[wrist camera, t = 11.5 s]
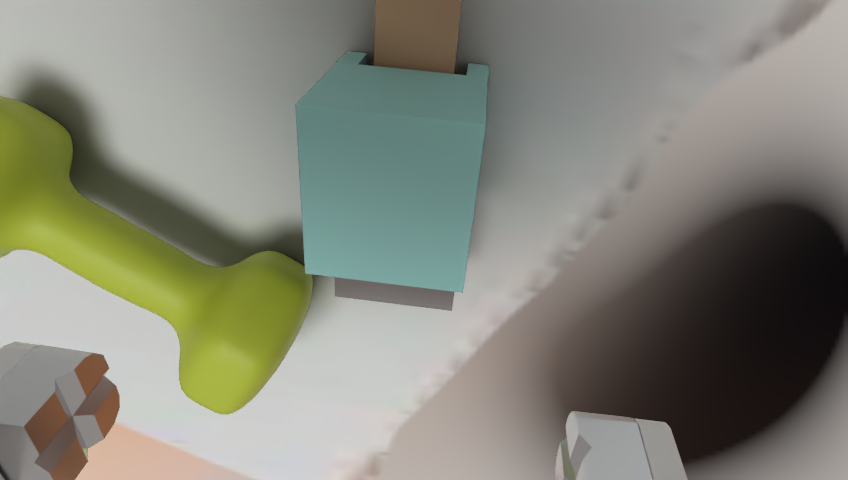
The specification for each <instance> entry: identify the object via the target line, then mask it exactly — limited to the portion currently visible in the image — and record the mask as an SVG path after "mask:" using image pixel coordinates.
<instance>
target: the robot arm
mask: <svg viewBox="0 0 848 480" xmlns="http://www.w3.org/2000/svg"><path fill="white" fill-rule="evenodd" d="M108 369H109V367H108V364H107V362H106V360H105V358H104V356H103V355H101V354H96V353H90V352H84V351H77V350H70V349H64V348H57V347H51V346H44V345H36V344H29V343H21V342H13V343H11V344H8V345H6V346H3V347H2V348H1V349H0V480H75V479H76V477H77V476H78V474H79V473H80V472H81V470H82V469H83V467H84V466H85V465H86V463H87V462H88V448H90V447H91V446H93V445H95V444H96V443H98V442H99V441H101V440H103V439H104V438H105V437H106V435H107V434H108V432H109V431H110V429H111V428H112V426H113V425H114V423H115V420H116V417H117V414H118V411H119V408H120V403H119V393H118V390H117V387H116V385H114V384H113V383H112V382H111V381H110V380H109V379H107V378H106V377H105V374H106V372H107V371H108ZM566 432H567V439H565V440H564V441H562V442H561V443H560V446H559V450H558V454H557V461H556V470H555V477H556V480H688V479H687V477H686V473H685V470H684V468H683V465H682V462H681V459H680V456H679V453H678V450H677V447H676V444H675V441H674V438H673V435H672V432H671V429H670V427H669V426H668V425H667V424H666V423H665V422H658V421H648V420H640V419H632V418H629V417H620V416H611V415H602V414H593V413H584V412H575V411H572V412H571V414H570V415H569V417H568V420H567V423H566Z"/></svg>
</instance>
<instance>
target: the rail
mask: <svg viewBox="0 0 848 480" xmlns="http://www.w3.org/2000/svg"><path fill="white" fill-rule="evenodd" d="M461 5H462V0H375V27H374V66H380V67H390V68H400V69H409V70H419V71H429V72H439V73H449V74H455V65H456V55H457V45H458V35H459V25H460V15H461ZM335 296H337V297H346V298H354V299H362V300H370V301H378V302H386V303H394V304H402V305H410V306H418V307H426V308H434V309H442V310H450V311H452V305H453V297H454V292H453V291H444V290H436V289H428V288H420V287H412V286H403V285H395V284H387V283H379V282H371V281H363V280H354V279H346V278H338V277H335Z"/></svg>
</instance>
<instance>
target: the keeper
mask: <svg viewBox="0 0 848 480" xmlns="http://www.w3.org/2000/svg"><path fill="white" fill-rule="evenodd" d="M488 79H489V65H482V64H472V63H468V69H467V75H459V74H449V73H439V72H429V71H419V70H409V69H400V68H390V67H380V66H370V65H367V53H361V52H351V51H347V52H346V53H345V54H344V55H343V56H342V57H341V58H340V59H339V60H338V61H337V62H336V64H335V65H334V66H333V67H332V68H331V69H330V70H329V71H328V72H327V73H326V74H325V75H324V76H323V77H322V78H321V79H320V80H319V81H318V82H317V83H316V84H315V85H314V86H313V87H312V88H311V89H310V90H309V91H308V92H307V93H306V94H305V95H304V96H303V97H302V98H301V99H300V100H299V101H298V102H297V103H296V122H297V139H298V157H299V174H300V192H301V210H302V227H303V245H304V262H305V274H313V275H322V276H330V277H338V278H346V279H354V280H363V281H371V282H379V283H387V284H395V285H403V286H412V287H420V288H428V289H436V290H444V291H453V292H461V293H463V288H464V281H465V274H466V266H467V259H468V252H469V245H470V237H471V230H472V223H473V216H474V208H475V201H476V194H477V186H478V179H479V172H480V165H481V157H482V150H483V143H484V136H485V128H486V107H487V86H488Z"/></svg>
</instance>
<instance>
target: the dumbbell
mask: <svg viewBox="0 0 848 480" xmlns="http://www.w3.org/2000/svg"><path fill="white" fill-rule="evenodd" d="M72 159H73V144H72V140H71V136H70V134H69V133H68V132H67V130H66V129H65V128H64V127H63V126H62V125H61V124H60V123H58V122H57V121H55V120H54V119H52V118H51V117H49V116H47V115H46V114H44V113H42V112H41V111H39V110H37V109H35V108H34V107H32V106H30V105H27V104H25V103H23V102H20V101H17V100H13V99H10V98H5V97H1V96H0V258H1V257H3V256H5V255H7V254H9V253H10V252H11V251H13V250H30V251H35V252H38V253H40V254H43V255H45V256H47V257H48V258H50V259H52V260H54V261H56V262H57V263H59V264H61V265H62V266H64V267H66V268H67V269H69V270H71V271H73V272H74V273H76V274H78V275H80V276H81V277H83V278H85V279H87V280H88V281H90V282H92V283H93V284H95V285H97V286H99V287H101V288H102V289H104V290H106V291H108V292H110V293H112V294H114V295H117V296H119V297H121V298H123V299H125V300H127V301H129V302H131V303H133V304H135V305H137V306H140V307H142V308H144V309H146V310H148V311H150V312H153V313H155V314H157V315H159V316H161V317H162V318H164V319H165V320H167V321H168V322H169V323H170V324H171V325H172V326H173V328H174V329H175V331H176V332H177V335H178V338H179V342H180V360H179V380H180V385H181V389H182V390H183V392H184V393H185V394H186V396H188V397H189V398H190V399H192V400H193V401H194V402H196V403H198V404H200V405H202V406H204V407H206V408H208V409H210V410H212V411H214V412H216V413H219V414H230V413H233V412H236V411H237V410H239V409H241V408H242V407H243V406H245V405H246V404H247V403H248V402H250V401H251V400H252V399H253V398H254V397H255V396H256V395H257V394H258V392H259V391H260V390H261V389H262V388H263V386H264V385H265V384H266V383H267V381H268V380H269V379H270V378H271V376H272V375H273V374H274V372H275V371H276V370H277V368H278V367H279V365H280V364H281V362H282V361H283V359H284V357H285V356H286V354H287V352H288V351H289V349H290V347H291V345H292V344H293V342H294V340H295V338H296V336H297V334H298V332H299V330H300V328H301V326H302V324H303V321H304V319H305V317H306V314H307V311H308V309H309V305H310V302H311V297H312V288H313V281H312V276H311V274H305V267H304V266H303V265H302V264H300V263H298V262H297V261H295V260H293V259H291V258H290V257H288V256H286V255H284V254H281V253H279V252H275V251H263V252H259V253H256V254H254V255H252V256H250V257H248V258H246V259H244V260H243V261H241V262H239V263H237V264H234V265H231V266H226V267H213V266H209V265H206V264H203V263H201V262H199V261H197V260H195V259H193V258H192V257H190V256H189V255H187V254H185V253H184V252H182V251H180V250H179V249H177V248H175V247H173V246H172V245H170V244H168V243H166V242H164V241H163V240H161V239H159V238H157V237H155V236H154V235H152V234H150V233H148V232H147V231H145V230H143V229H141V228H139V227H138V226H136V225H134V224H132V223H130V222H129V221H127V220H125V219H123V218H122V217H120V216H118V215H116V214H115V213H113V212H111V211H109V210H107V209H105V208H103V207H101V206H99V205H97V204H95V203H93V202H92V201H90V200H88V199H86V198H85V197H84V196H82V195H81V194H80V193H79V192H78V191H77V190H76V189H75V188H74V186H73V185H72V183H71V180H70V178H69V172H70V168H71V164H72Z"/></svg>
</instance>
